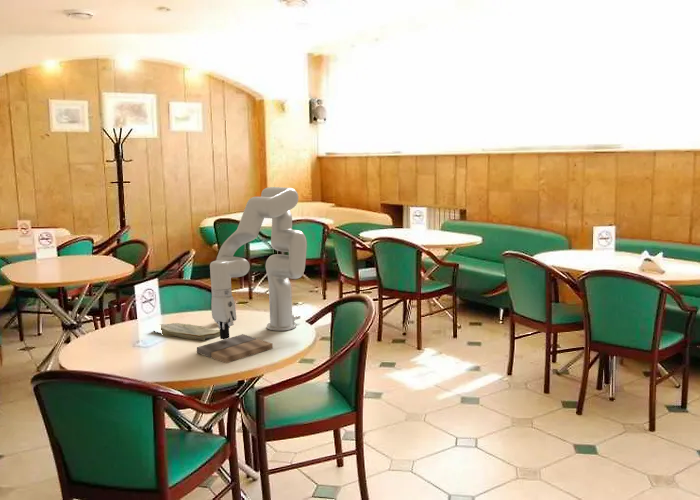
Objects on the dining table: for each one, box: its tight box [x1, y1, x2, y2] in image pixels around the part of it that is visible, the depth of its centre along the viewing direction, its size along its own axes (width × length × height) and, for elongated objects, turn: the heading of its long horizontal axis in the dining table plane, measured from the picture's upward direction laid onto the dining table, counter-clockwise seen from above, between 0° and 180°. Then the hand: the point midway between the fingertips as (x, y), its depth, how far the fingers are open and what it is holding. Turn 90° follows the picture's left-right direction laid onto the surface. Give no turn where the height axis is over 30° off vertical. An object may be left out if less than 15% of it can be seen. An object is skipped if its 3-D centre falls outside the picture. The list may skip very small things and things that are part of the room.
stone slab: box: [160, 322, 220, 341], centre depth 270 cm, size 12×4×30 cm
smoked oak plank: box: [196, 333, 257, 359], centre depth 250 cm, size 22×9×2 cm, turn 138°
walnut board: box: [211, 338, 274, 364], centre depth 244 cm, size 22×9×2 cm, turn 138°
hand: (224, 338), depth 251 cm, fingers closed
